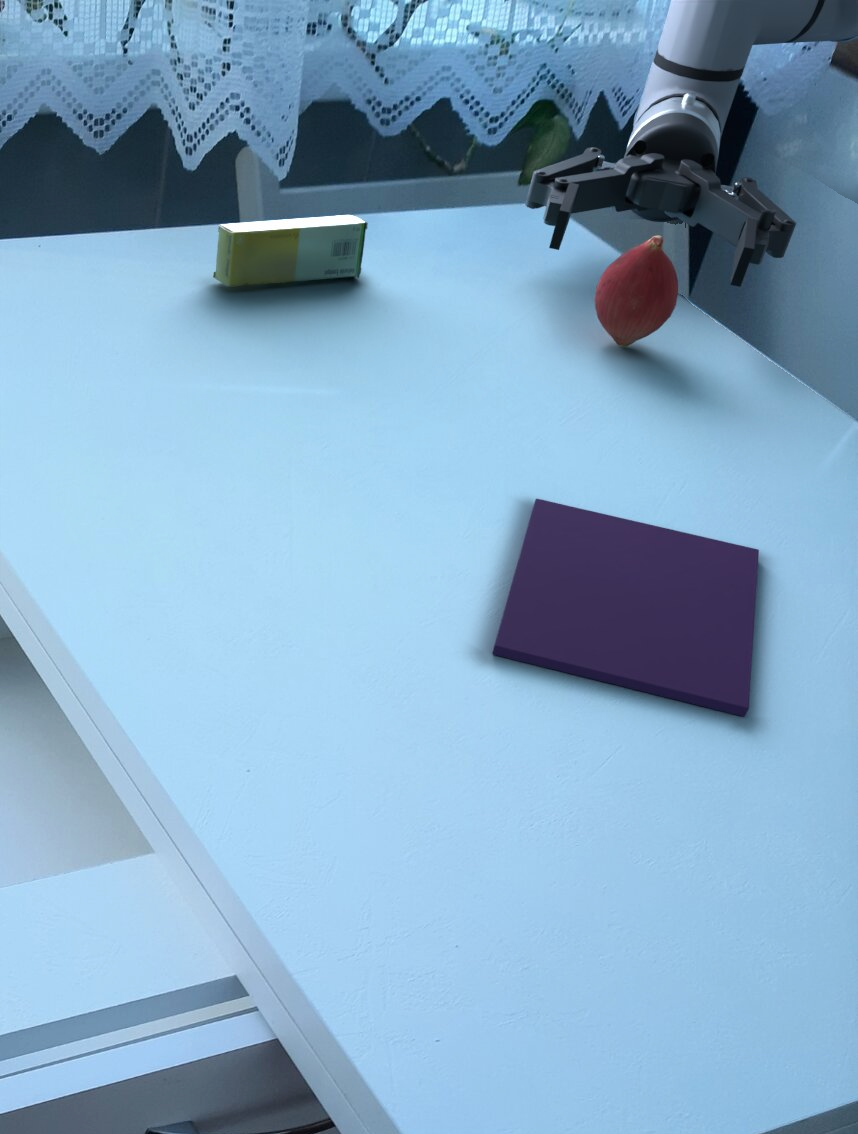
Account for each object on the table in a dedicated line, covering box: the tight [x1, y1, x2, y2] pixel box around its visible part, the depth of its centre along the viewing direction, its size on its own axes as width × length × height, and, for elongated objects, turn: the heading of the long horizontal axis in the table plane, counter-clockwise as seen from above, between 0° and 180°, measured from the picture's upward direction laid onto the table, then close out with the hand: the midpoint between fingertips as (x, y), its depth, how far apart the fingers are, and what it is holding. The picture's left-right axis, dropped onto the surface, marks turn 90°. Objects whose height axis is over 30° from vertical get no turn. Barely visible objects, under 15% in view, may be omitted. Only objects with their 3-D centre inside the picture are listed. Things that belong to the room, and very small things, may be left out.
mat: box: [492, 498, 760, 717], centre depth 90 cm, size 14×18×1 cm
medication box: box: [212, 214, 369, 288], centre depth 117 cm, size 12×3×4 cm, turn 114°
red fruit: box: [594, 235, 679, 348], centre depth 112 cm, size 6×6×8 cm
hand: (649, 248), depth 113 cm, fingers open, 13 cm apart
